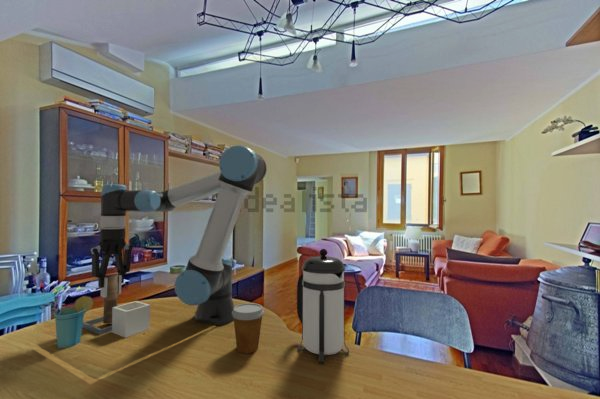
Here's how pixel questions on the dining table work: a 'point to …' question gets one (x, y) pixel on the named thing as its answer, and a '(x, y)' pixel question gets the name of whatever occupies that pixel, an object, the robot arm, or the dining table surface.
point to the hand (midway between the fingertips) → (110, 294)
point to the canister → (130, 318)
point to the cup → (70, 321)
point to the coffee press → (322, 305)
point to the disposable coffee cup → (247, 326)
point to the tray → (89, 326)
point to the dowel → (110, 297)
